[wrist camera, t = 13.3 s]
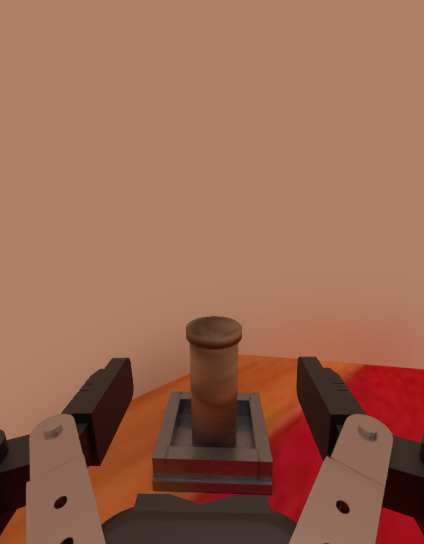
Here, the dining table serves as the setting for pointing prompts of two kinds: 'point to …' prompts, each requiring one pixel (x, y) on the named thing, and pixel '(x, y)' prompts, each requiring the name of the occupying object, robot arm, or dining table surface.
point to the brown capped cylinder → (214, 380)
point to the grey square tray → (213, 452)
